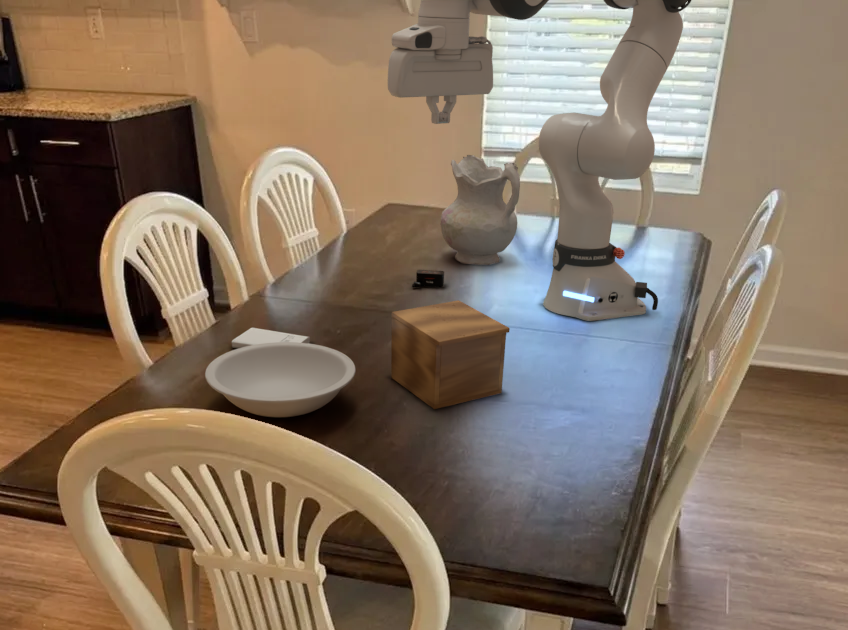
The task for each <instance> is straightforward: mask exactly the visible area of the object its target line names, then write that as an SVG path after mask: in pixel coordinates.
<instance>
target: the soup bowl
mask: <svg viewBox="0 0 848 630" xmlns="http://www.w3.org/2000/svg"><path fill="white" fill-rule="evenodd" d="M204 372H205V373H204V377H205V381H206V382H207V384H208V385H209V386H210V387H211V389H213V390H214V391H215V392H217V393H219V394H221V395H223V396H224V397H225V398H226V400H228V401H229V402H230V403H231V404H233V405H234V406H236V407H237V408H238V409H240V410H243V411H245V412H247V413H249V414H253V415H256V416H261V417H266V418H267V417H268V418H290V417H291V418H292V417H297V416H302V415H306V414H309V413H313V412H315V411H316V410H318V409H321V408H323V407H324V406H326V405H327V404H328V403H330V402H332V400H333V399H334V398H336V396H338V394H339V393H340V391H341V390H342V389H343V388H345V387H346V386H348V385H349V384H350V383H351V382H352V381H353V379H354V377H355V375H356V365H355V362H354V361H353V360H352V359H351V358H350V357H349V356H348V355H346V354H344V353H343V352H341V351H339V350H337V349H334V348H331V347H328V346H324V345H319V344H314V343H298V342H274V343H264V344H257V345H251V346H246V347H242V348H239V349H238V348H234V349H232V350H230V351H227V352H225V353H223V354H221V355H219V356H218V357H216V358H214V359H213V360H212V361H211V362H210V363H209V364H208V365H207V366H206V369H205V371H204Z"/></svg>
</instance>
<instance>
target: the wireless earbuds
mask: <svg viewBox="0 0 848 630" xmlns="http://www.w3.org/2000/svg"><path fill="white" fill-rule="evenodd" d="M444 284H445V271H444V270H436V269H435V270H432V269H417V270H416V281H413V283H412V284H411V288H421V287H424V288H443V287H444Z"/></svg>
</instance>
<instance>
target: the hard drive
mask: <svg viewBox="0 0 848 630" xmlns="http://www.w3.org/2000/svg"><path fill="white" fill-rule="evenodd" d="M274 342H298V343H309V344H311V337H310V336H306V335H300V334H294V333H288V332H284V331H283V332H282V331H275V330H269V329H263V328H257V327H250V328H248V329H247V330H246V331H244V332H242V333H241V334H240V335H238V336H236V337H235V338H233V339H232V340H231V348H233V349H239V348H242V347H246V346H251V345H257V344H264V343H274Z"/></svg>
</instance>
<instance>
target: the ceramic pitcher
mask: <svg viewBox="0 0 848 630" xmlns="http://www.w3.org/2000/svg"><path fill="white" fill-rule="evenodd" d="M450 165H451V170H452V175H453V177H454V179H455V182H456V187H457V196H456V198H455V200H454V201H453V202H452V203H450V204H449V205H448V206H447V207H446V208H444V209H443V210H442V212H441V215H440V229H441V230H440V231H441V235H442V237H443V239H444V241H445V242H446V244H447V245H448V247H450V248H451V249H453V250H454V251H456V254H455V255H454V259H455V260H456V261H457V262H460V263H461V264H463V265H478V266H490V265H493V264H494V265H495V264H498V263H500V261H501V257H500V256H499V253H502V252H503V251H505V250H506V249H507V248H508V247H509V245H510V244H511V243H512V241H513V240H514V238H515V236H516V233H517V230H518V218H517V214H516V213H515V210H516V206H517V204H518V202H519V200H520V190H521V179H520V174H519V170H518V169H519V167H518V166H517V164H515V163H513V162H506V163H503V165H504V169H503V168H502V167H499V166H493V165H492V166H491V165H490V166H488V165H487V163H486V162H485V160H484V158H483V157H482V158H480V157H478V156H476V155H474V154H466V156H462V159H461V160H460V161H459V162H458V163H457V161H456V160H455V159H451V162H450ZM507 181H509V182H510V184H511V195H510V198H509V199H508V202H507V203H506V202H505V201H504V197H503V196H504V189H505V186H506V183H507Z"/></svg>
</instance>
